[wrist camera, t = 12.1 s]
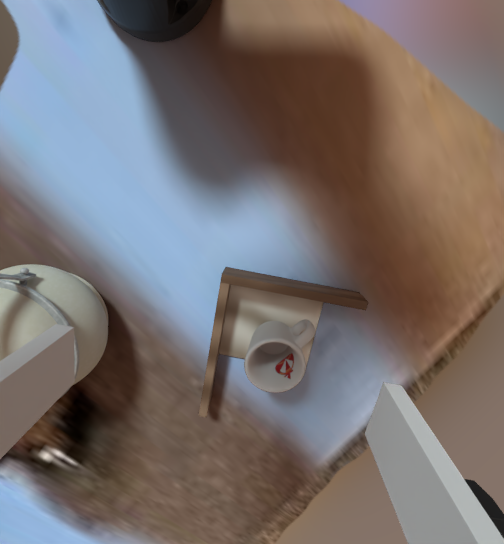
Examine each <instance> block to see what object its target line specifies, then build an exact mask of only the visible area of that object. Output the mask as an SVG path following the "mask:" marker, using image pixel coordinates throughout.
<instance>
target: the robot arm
mask: <svg viewBox="0 0 504 544" xmlns="http://www.w3.org/2000/svg"><path fill="white" fill-rule="evenodd" d="M97 1H98V3H99V4H100V5H101V7H102V8H103V9H104V10H105V12H106V13H107V14H108V15H109V16H110V17H111V18H112V19H113V21H114V22H115V23H116V24H117V25H118V26H120V27H121V28H122V29H123V30H125V31H126V32H128V33H129V34H131V35H133V36H135V37H137V38H140V39H143V40H147V41H155V42H161V41H168V40H172V39H175V38H178V37H180V36H182V35H184V34H185V33H187V32H188V31H190V30H191V29H192V28H193V27H194V26H195V25H196V24H197V23H198V22H199V21H200V20H201V19H202V17H203V16H204V14H205V13H206V11H207V9H208V8H209V6H210V3H211V1H212V0H97ZM74 382H75V371H74V327H70V326H64V325H58V324H55V325H54V326H52V327H51V328H49V329H48V330H46V331H45V332H43V333H42V334H40V335H39V336H37V337H36V338H34V339H33V340H31V341H30V342H28V343H27V344H25V345H24V346H22V347H21V348H19V349H18V350H16V351H15V352H13V353H12V354H10V355H9V356H7V357H6V358H4V359H3V360H1V361H0V459H1V458H2V457H3V456H4V455H5V454H6V452H7V451H8V450H9V449H10V448H11V447H12V446H13V445H14V444H15V443H16V442H17V441H18V440H19V439H20V438H21V437H22V436H23V435H24V434H25V433H26V432H27V431H28V430H29V429H30V428H31V427H32V426H33V425H34V424H35V423H36V422H37V421H38V419H39V418H40V417H41V416H42V415H43V414H44V413H45V412H46V411H47V410H48V409H49V408H50V407H51V406H52V405H53V404H54V403H55V402H56V401H57V400H58V399H59V398H60V397H61V396H62V395H63V394H64V393H65V392H66V391H67V390H68V389H69V388H70V386H71V385H72V384H73V383H74ZM365 435H366V438H367V441H368V443H369V446H370V448H371V451H372V453H373V456H374V458H375V461H376V463H377V466H378V469H379V471H380V474H381V476H382V479H383V481H384V484H385V486H386V489H387V491H388V494H389V497H390V499H391V502H392V504H393V507H394V509H395V512H396V514H397V517H398V519H399V522H400V525H401V527H402V529H403V532H404V535H405V537H406V540H407V542H408V544H504V514H503V512H502V511H501V510H500V508H499V507H498V505H497V504H496V503H495V501H494V500H493V499H492V498H491V497H490V496H489V495H488V494H487V493H486V492H485V491H484V490H483V489H482V488H481V487H480V486H479V485H478V484H477V483H476V482H475V481H472V480H467V479H463V477H462V476H461V474H460V473H459V471H458V470H457V468H456V467H455V465H454V464H453V462H452V461H451V459H450V458H449V456H448V455H447V453H446V452H445V450H444V449H443V447H442V446H441V444H440V443H439V441H438V440H437V438H436V437H435V435H434V434H433V432H432V431H431V429H430V428H429V426H428V425H427V423H426V422H425V420H424V419H423V417H422V416H421V414H420V413H419V411H418V410H417V408H416V407H415V405H414V404H413V402H412V401H411V399H410V398H409V396H408V395H407V393H406V392H405V390H404V389H403V387H402V386H401V385H396V384H390V383H384V382H383V385H382V388H381V390H380V393H379V396H378V399H377V401H376V404H375V407H374V410H373V413H372V415H371V418H370V421H369V424H368V426H367V429H366V432H365Z"/></svg>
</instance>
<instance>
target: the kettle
mask: <svg viewBox="0 0 504 544" xmlns="http://www.w3.org/2000/svg"><path fill="white" fill-rule="evenodd" d="M55 324H58V325H64V326H70V327H74V371H75V382H74V383H73V384H72V385H74V384H76V383H77V382H79V381H80V380H81V379H83V378H84V377H85V376H87V375H88V374H89V373H90V372H91V371H92V370H93V369H94V367H95V366H96V365H97V364H98V362H99V361H100V359H101V357H102V355H103V353H104V351H105V348H106V344H107V339H108V312H107V308H106V305H105V303H104V301H103V299H102V297H101V296H100V294H99V293H98V292H97V290H96V289H95V288H94V287H93V286H92V285H91V284H89V283H88V282H87V281H85V280H84V279H82V278H81V277H79V276H76V275H74V274H71V273H68V272H65V271H63V270H60V269H58V268H54V267H50V266H45V265H35V264H31V265H19V266H14V267H10V268H6V269H3V270H1V271H0V361H1V360H3V359H4V358H6V357H7V356H9V355H10V354H12V353H13V352H15V351H16V350H18V349H19V348H21V347H22V346H24V345H25V344H27V343H28V342H30V341H31V340H33V339H34V338H36V337H37V336H39V335H40V334H42V333H43V332H45V331H46V330H48V329H49V328H51V327H52V326H54V325H55ZM72 385H71V386H72ZM71 386H70V387H71ZM69 389H70V388H69ZM69 389H68V390H69ZM68 390H67V391H68ZM67 391H66V392H67ZM66 392H65V393H66ZM65 393H64V394H65ZM64 394H63V395H64ZM63 395H62V396H63ZM62 396H61V397H62Z"/></svg>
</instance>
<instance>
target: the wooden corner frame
mask: <svg viewBox="0 0 504 544" xmlns="http://www.w3.org/2000/svg"><path fill="white" fill-rule="evenodd" d="M323 302H325V303H330V304H336V305H341V306H346V307H351V308H356V309H362V310H366V308H367V305H368V301H367V300H366V299H365V298H364V297H363V296H362V295H361V294H360V293H359V292H354V291H349V290H344V289H339V288H333V287H328V286H323V285H318V284H313V283H307V282H302V281H297V280H292V279H286V278H281V277H276V276H271V275H265V274H260V273H255V272H250V271H245V270H239V269H234V268H229V267H226V268H225V269H224V271H223V273H222V277H221V283H220V289H219V295H218V301H217V307H216V313H215V319H214V325H213V331H212V338H211V344H210V350H209V356H208V362H207V368H206V374H205V380H204V386H203V392H202V399H201V405H200V411H199V416H202V417H206V416H207V413H208V409H209V405H210V402H211V397H212V391H213V385H214V380H215V374H216V368H217V362H218V357H219V354H222V355H227V356H233V357H238V358H243V359H245V357H246V354H247V351H248V348H249V344H250V341H251V338H252V336H253V333H254V332H255V330H256V329H257V328H258V327H259V326H260V325H261V324H263V323H265V322H268V321H279V322H282V323H284V324H286V325H287V326H289V327H290V328H291V327H293V326H294V325H295V324H297V323H298V322H299V321H301V320H304V319H307V320H309V321H310V322H311V323H312V324H313V325H314V327H315V332H316V329H317V325H318V321H319V317H320V314H321V310H322V306H323ZM304 331H305V329H304V330H303V331H302V332H301V333H303V332H304ZM301 333H300V334H301ZM314 336H315V335H314ZM313 340H314V337H313V338H312V339H311V340H310V341H309V342H308V343H307V344H306V345H305V346H304V347H303V348H302V352H303V354H304V357H305V361H306V366H307V362H308V359H309V355H310V351H311V347H312V344H313Z"/></svg>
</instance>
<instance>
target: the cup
mask: <svg viewBox="0 0 504 544" xmlns="http://www.w3.org/2000/svg"><path fill="white" fill-rule="evenodd" d="M304 329H305V331H304V332H303V333H301V332H302V331H303V330H304ZM300 333H301V334H300ZM314 335H315V327H314V325H313V324H312V323H311V322H310V321H309V320H307V319H304V320H301V321H299V322H298V323H297V324H295V325H294V326H293V327H291V328H290V327H289V326H287V325H286V324H284V323H282V322H279V321H268V322H265V323H263V324H261V325H260V326H259V327H258V328H257V329H256V330H255V332H254V333H253V336H252V338H251V341H250V344H249V348H248V351H247V354H246V357H245V362H244V367H245V372H246V375H247V377H248V379H249V380H250V381H251V383H252V384H253V385H255V386H256V387H257V388H259V389H261V390H263V391H266V392H271V393H280V392H285V391H288V390H290V389H292V388H294V387H295V386H296V385H297V384H298V383H299V382H300V381H301V380H302V378H303V376H304V374H305V370H306V361H305V357H304V354H303V352H302V348H303V347H304V346H305V345H306V344H307V343H308V342H309V341H310V340H311V339H312V338H313V337H314Z"/></svg>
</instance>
